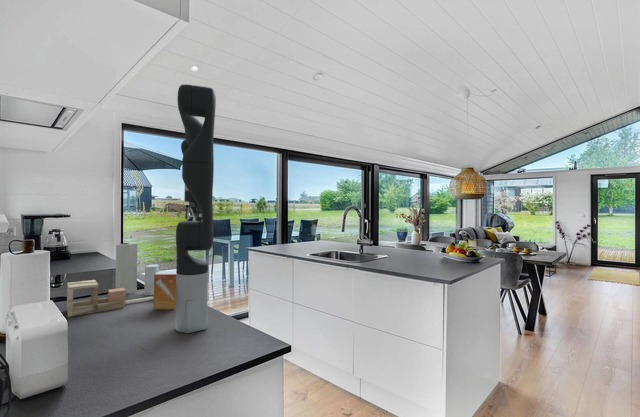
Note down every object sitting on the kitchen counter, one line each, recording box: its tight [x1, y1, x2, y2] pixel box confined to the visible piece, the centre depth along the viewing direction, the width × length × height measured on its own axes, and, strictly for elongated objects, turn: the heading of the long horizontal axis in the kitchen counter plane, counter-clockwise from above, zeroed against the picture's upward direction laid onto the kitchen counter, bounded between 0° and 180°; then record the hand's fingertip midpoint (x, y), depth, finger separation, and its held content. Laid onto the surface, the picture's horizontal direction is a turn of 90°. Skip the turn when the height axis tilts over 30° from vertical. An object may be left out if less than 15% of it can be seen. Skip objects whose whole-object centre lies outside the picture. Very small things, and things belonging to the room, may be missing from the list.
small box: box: [152, 270, 176, 310], centre depth 121 cm, size 8×6×13 cm
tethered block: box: [107, 288, 154, 307], centre depth 126 cm, size 5×20×6 cm, turn 131°
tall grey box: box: [114, 242, 138, 295], centre depth 138 cm, size 7×6×21 cm
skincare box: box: [143, 264, 160, 296], centre depth 139 cm, size 6×4×12 cm
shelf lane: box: [66, 279, 124, 318], centre depth 117 cm, size 9×16×10 cm, turn 130°
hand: (194, 230), depth 129 cm, fingers open, 8 cm apart
